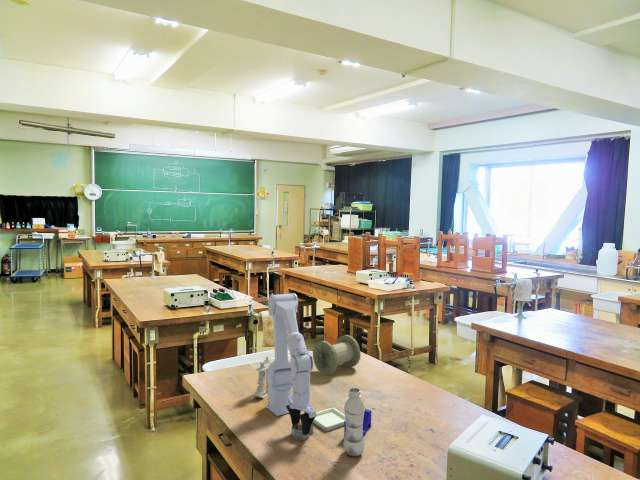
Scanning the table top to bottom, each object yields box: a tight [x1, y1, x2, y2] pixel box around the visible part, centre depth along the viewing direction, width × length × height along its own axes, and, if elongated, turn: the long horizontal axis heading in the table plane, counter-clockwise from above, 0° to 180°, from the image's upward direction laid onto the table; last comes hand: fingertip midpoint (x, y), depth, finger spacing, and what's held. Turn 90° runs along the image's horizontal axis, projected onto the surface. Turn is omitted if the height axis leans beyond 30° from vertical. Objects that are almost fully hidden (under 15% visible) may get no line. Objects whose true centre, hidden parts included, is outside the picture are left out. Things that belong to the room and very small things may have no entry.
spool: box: [312, 334, 361, 376], centre depth 207 cm, size 16×15×15 cm
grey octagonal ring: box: [290, 421, 314, 441], centre depth 147 cm, size 6×7×3 cm
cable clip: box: [343, 408, 372, 438], centre depth 149 cm, size 12×4×6 cm, turn 142°
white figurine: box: [251, 356, 270, 399], centre depth 177 cm, size 4×10×15 cm, turn 163°
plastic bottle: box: [343, 387, 366, 457], centre depth 136 cm, size 6×7×20 cm
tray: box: [312, 407, 346, 432], centre depth 157 cm, size 11×11×2 cm
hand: (300, 430), depth 147 cm, fingers open, 6 cm apart
